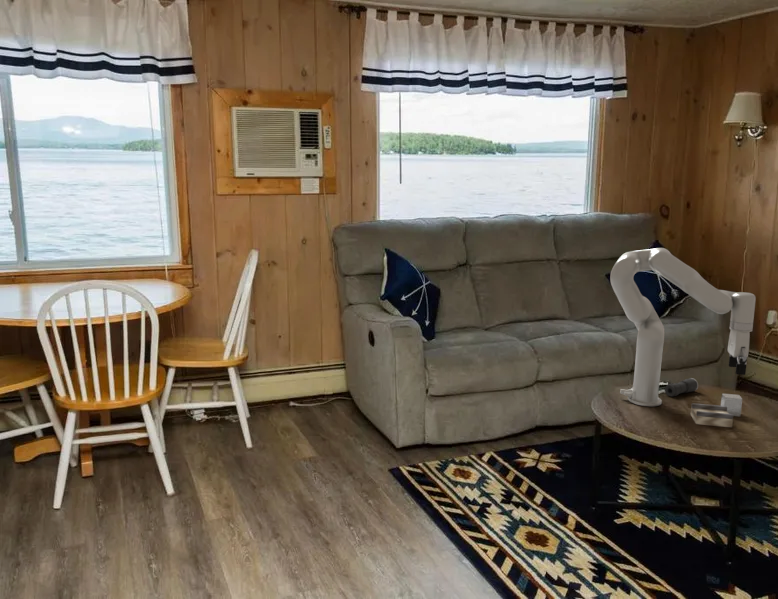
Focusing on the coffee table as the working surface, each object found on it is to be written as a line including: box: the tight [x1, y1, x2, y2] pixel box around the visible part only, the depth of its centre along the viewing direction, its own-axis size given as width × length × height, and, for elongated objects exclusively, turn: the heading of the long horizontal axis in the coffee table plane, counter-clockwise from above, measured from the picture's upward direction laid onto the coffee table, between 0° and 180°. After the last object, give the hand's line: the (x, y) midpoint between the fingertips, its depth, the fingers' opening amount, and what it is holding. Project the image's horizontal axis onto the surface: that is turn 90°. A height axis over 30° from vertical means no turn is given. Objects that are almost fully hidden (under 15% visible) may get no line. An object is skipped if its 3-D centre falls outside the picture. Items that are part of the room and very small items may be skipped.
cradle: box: [690, 402, 734, 428], centre depth 248 cm, size 12×10×4 cm
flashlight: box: [664, 377, 699, 397], centre depth 278 cm, size 15×5×5 cm, turn 122°
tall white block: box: [720, 393, 743, 417], centre depth 256 cm, size 6×4×7 cm
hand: (736, 370), depth 253 cm, fingers open, 9 cm apart
